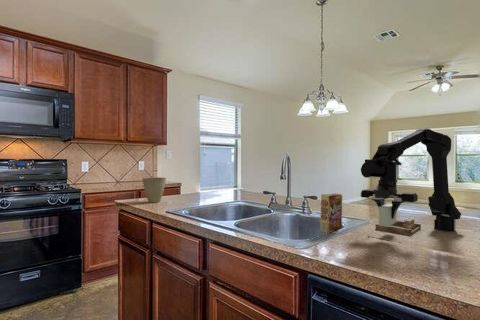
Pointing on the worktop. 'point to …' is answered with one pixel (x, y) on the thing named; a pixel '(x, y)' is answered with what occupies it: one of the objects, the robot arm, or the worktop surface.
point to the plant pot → (154, 188)
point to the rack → (399, 228)
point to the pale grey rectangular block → (386, 215)
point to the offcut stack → (409, 224)
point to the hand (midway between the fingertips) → (387, 217)
